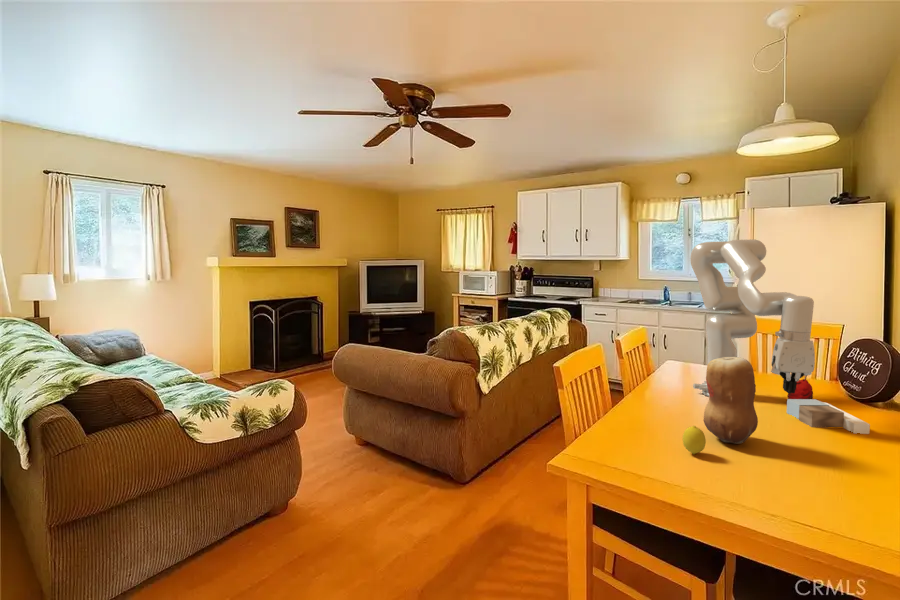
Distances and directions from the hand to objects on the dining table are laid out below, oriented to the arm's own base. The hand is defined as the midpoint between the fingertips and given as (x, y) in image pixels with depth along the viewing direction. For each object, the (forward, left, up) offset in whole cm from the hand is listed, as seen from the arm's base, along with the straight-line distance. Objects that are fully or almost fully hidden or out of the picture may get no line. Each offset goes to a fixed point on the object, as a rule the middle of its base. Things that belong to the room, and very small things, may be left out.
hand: (789, 391), depth 139 cm
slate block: (+10, +8, -11) cm, 16 cm away
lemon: (-37, -27, -11) cm, 47 cm away
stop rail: (+16, +4, -10) cm, 20 cm away
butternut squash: (-24, -17, -11) cm, 31 cm away
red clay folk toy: (+14, +21, -11) cm, 27 cm away
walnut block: (+10, +1, -11) cm, 14 cm away
